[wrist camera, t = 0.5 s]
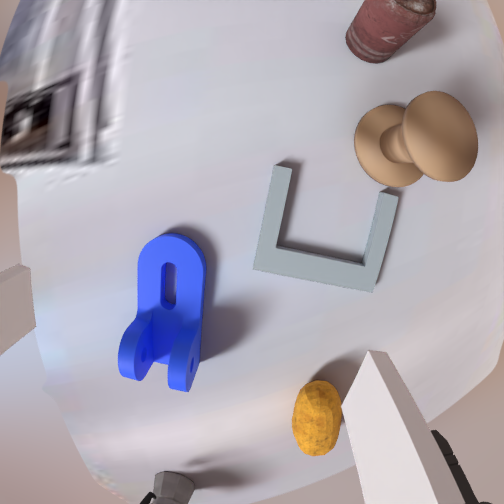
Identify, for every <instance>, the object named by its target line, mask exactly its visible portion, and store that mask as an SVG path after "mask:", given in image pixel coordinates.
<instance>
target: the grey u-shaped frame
mask: <svg viewBox="0 0 504 504" xmlns="http://www.w3.org/2000/svg"><path fill="white" fill-rule="evenodd" d="M291 173H292V169H290V168H285V167H281V166H276V165H274V168H273V173H272V178H271V183H270V188H269V193H268V197H267V202H266V207H265V212H264V217H263V222H262V227H261V231H260V236H259V241H258V246H257V251H256V256H255V260H254V265H253V270H257V271H262V272H267V273H272V274H277V275H282V276H287V277H292V278H298V279H303V280H308V281H313V282H318V283H323V284H329V285H334V286H339V287H344V288H350V289H355V290H360V291H366V292H371V293H373V290H374V287H375V284H376V281H377V277H378V274H379V271H380V268H381V264H382V261H383V257H384V254H385V250H386V247H387V243H388V239H389V235H390V232H391V228H392V224H393V220H394V216H395V211H396V207H397V203H398V198H399V197H396V196H393V195H390V194H387V193H382V192H380V193H379V197H378V202H377V206H376V210H375V214H374V219H373V223H372V227H371V231H370V235H369V238H368V242H367V246H366V250H365V253H364V257H363V260H362V263H358V262H353V261H349V260H344V259H339V258H334V257H330V256H325V255H320V254H315V253H311V252H306V251H301V250H296V249H291V248H287V247H282V246H277V245H276V243H277V239H278V234H279V230H280V225H281V221H282V216H283V211H284V207H285V202H286V197H287V192H288V188H289V183H290V178H291Z"/></svg>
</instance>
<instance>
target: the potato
mask: <svg viewBox="0 0 504 504" xmlns="http://www.w3.org/2000/svg"><path fill="white" fill-rule="evenodd" d="M341 405H342V404H341V399H340V397H339V394H338V392H337V390H336V388H335V387H334V386H333V385H331V384H330V383H329V382H327V381H319V380H316V381H313V382H310V383H307V384H306V385H305V386H304V387H303V388H302V389H301V390H300V392H299V394H298V396H297V399H296V403H295V407H294V413H293V417H292V429H293V434H294V436H295V438H296V441H297V443H298V446H299V447H300V449H301V450H302V451H303V452H304V453H305V454H308V455H311V456H319V455H325V454H326V453H328V452H329V451H330V450H332V449H333V448H334V446H335V444H336V441H337V439H338V435H339V430H340V425H341V418H342V408H341Z"/></svg>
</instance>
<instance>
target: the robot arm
mask: <svg viewBox="0 0 504 504" xmlns="http://www.w3.org/2000/svg"><path fill="white" fill-rule="evenodd" d="M35 327H36V322H35V314H34V306H33V297H32V286H31V272H30V268H29V267H26V266H23V265H20V264H17V265H15V266H13V267H11V268H9V269H6V270H4V271H2V272H0V355H2V354H3V353H4V352H5V351H6V350H8V349H9V348H10V347H11V346H12V345H14V344H15V343H16V342H17V341H19V340H20V339H21V338H22V337H24V336H25V335H26V334H28V333H29V332H30V331H31V330H33V329H34V328H35ZM341 408H342V412H343V416H344V419H345V423H346V427H347V431H348V434H349V438H350V442H351V446H352V450H353V454H354V458H355V462H356V466H357V470H358V475H359V478H360V483H361V487H362V492H363V496H364V500H365V504H491V503H489V502H480V503H479V502H478V500H477V499H476V497H475V495H474V493H473V491H472V489H471V487H470V484H469V482H468V480H467V478H466V476H465V474H464V472H463V470H462V468H461V467H460V465H458V460H457V459H456V457H455V455H453V451H452V449H451V447H450V445H449V443H448V442H447V440H446V439H445V438H444V437H443V436H442V435H441V434H440V433H439V432H438V431H437V430H432V431H430V429H429V427H428V425H427V423H426V421H425V419H424V418H423V416H422V414H421V412H420V410H419V408H418V407H417V405H416V403H415V401H414V399H413V397H412V396H411V394H410V392H409V390H408V389H407V387H406V385H405V383H404V382H403V380H402V378H401V376H400V375H399V373H398V371H397V369H396V368H395V366H394V364H393V363H392V361H391V359H390V357H389V356H388V354H387V352H380V351H371V350H368V352H367V354H366V356H365V358H364V361H363V363H362V365H361V367H360V369H359V371H358V374H357V376H356V378H355V380H354V382H353V384H352V386H351V388H350V390H349V392H348V394H347V396H346V398H345V400H344V402H343V404H342V405H341Z"/></svg>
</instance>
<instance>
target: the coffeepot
mask: <svg viewBox="0 0 504 504" xmlns="http://www.w3.org/2000/svg"><path fill="white" fill-rule="evenodd" d="M194 490H195V489H194V483H193V482H192V481H191V480H190V479H188V478H187V477H185V476H182V475H180V474H177V473H173V472H160V473H158V474H157V475H155V481H154V490H153V493H152V492H149V493H148V494H147V495H146V496H145V498H144V499H143V500H142V501H141V503H140V504H149V503H150V501H151V498H153V499H154V500H153V503H151V504H188V502H189V500H190V498H191V496H192V494H193V492H194Z"/></svg>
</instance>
